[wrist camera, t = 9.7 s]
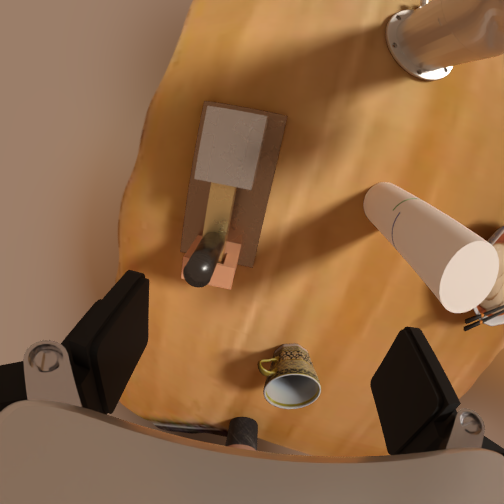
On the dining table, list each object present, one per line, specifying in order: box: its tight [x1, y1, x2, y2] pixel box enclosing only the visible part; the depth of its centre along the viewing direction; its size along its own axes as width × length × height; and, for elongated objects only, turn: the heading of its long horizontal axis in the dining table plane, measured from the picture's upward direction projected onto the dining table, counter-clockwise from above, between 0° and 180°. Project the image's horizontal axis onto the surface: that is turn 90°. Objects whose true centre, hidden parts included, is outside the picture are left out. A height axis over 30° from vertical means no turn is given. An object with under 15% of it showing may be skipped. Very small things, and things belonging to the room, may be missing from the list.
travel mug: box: [225, 417, 258, 451], centre depth 58 cm, size 8×8×20 cm
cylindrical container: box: [363, 182, 499, 313], centre depth 32 cm, size 7×7×25 cm
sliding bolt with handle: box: [183, 182, 237, 287], centre depth 35 cm, size 16×3×12 cm, turn 168°
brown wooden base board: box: [180, 101, 287, 268], centre depth 40 cm, size 24×12×9 cm, turn 168°
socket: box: [181, 235, 241, 290], centre depth 44 cm, size 3×7×8 cm, turn 78°
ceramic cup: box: [258, 344, 321, 409], centre depth 52 cm, size 13×10×10 cm
